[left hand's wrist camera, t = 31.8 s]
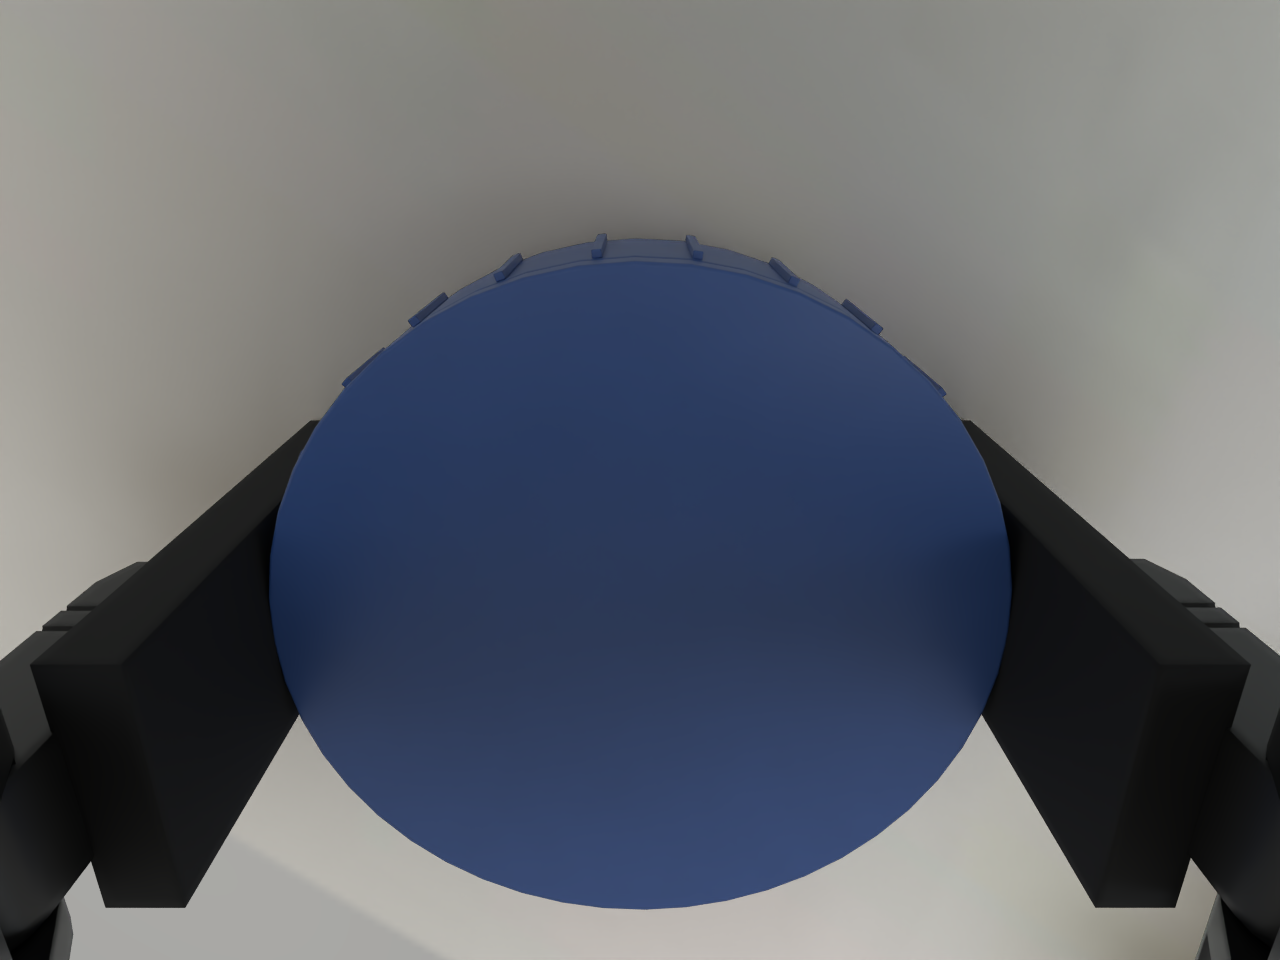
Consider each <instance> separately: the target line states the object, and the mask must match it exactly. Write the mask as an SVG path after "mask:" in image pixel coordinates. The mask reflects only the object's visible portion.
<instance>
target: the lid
mask: <svg viewBox="0 0 1280 960" xmlns="http://www.w3.org/2000/svg"><path fill="white" fill-rule="evenodd" d="M408 322H409V323H410V324H411V326H412V327H410V328H409V329H408V330H407V331H406V332H405V333H403V334H402V335H401V336H400V337H399V338H397V339H396V340H395V341H394V342H393V343H392V344H390V345H389V346H388V347H387V348H386V349H385V348H384V347H383V348H382V349H381V350H380V351H378V352H377V353H376V354H375V355H374V356H372V357H371V358H370V359H369V360H368V361H366V362H365V363H364V364H363V365H362V366H360V367H359V368H358V369H357V370H356V371H354V372H353V373H352V374H351V375H350V376H348V377H347V378H346V379H345V381H344V382H343V383H342V385H343V386H344V387H345V388H344V390H343V391H342V392H341V394H340V395H339V396H338V398H337V399H336V400H335V402H334V403H333V404H332V406H331V407H330V408H329V410H328V411H327V412H326V414H325V415H324V416H323V418H322V419H321V420H320V422H319V423H318V424H317V426H316V427H315V429H314V431H313V432H312V434H311V436H310V438H309V440H308V442H307V444H306V446H305V447H304V449H303V450H302V451H301V453H300V455H299V457H298V460H297V462H296V464H295V466H294V468H293V470H292V473H291V476H290V479H289V482H288V485H287V488H286V490H285V493H284V496H283V499H282V502H281V505H280V508H279V510H278V515H277V520H276V525H275V531H274V536H273V542H272V547H271V553H270V575H269V605H270V613H271V621H272V628H273V634H274V640H275V645H276V650H277V654H278V657H279V661H280V665H281V668H282V672H283V675H284V679H285V682H286V685H287V687H288V689H289V692H290V694H291V696H292V698H293V701H294V703H295V705H296V708H297V710H298V712H299V714H300V717H301V719H302V721H303V722H304V724H305V726H306V727H307V729H308V731H309V732H310V734H311V736H312V737H313V739H314V741H315V742H316V744H317V745H318V747H319V749H320V750H321V752H322V754H323V755H324V756H325V758H326V759H327V760H328V761H329V763H330V764H331V765H332V766H333V768H334V769H335V770H336V771H337V773H338V774H339V775H340V776H341V778H342V779H343V780H344V781H345V783H346V784H347V785H348V786H349V787H350V788H351V789H352V790H353V791H354V792H355V793H356V794H357V795H358V796H359V797H360V798H361V799H362V800H363V801H364V802H365V803H366V804H367V805H368V806H369V807H370V808H371V809H372V810H373V811H374V812H375V813H376V814H377V815H378V816H380V817H381V818H382V819H383V820H385V821H386V822H387V823H389V824H390V825H391V826H393V827H394V828H395V829H396V830H398V831H399V832H400V833H402V834H403V835H404V836H406V837H407V838H408V839H409V840H411V841H412V842H414V843H416V844H417V845H419V846H421V847H422V848H424V849H426V850H427V851H429V852H431V853H432V854H434V855H436V856H437V857H439V858H440V859H442V860H444V861H445V862H447V863H450V864H452V865H454V866H456V867H458V868H460V869H462V870H465V871H467V872H469V873H471V874H473V875H475V876H477V877H479V878H482V879H484V880H487V881H490V882H493V883H495V884H498V885H501V886H504V887H507V888H510V889H513V890H516V891H518V892H521V893H525V894H529V895H534V896H538V897H542V898H546V899H550V900H555V901H559V902H563V903H571V904H578V905H585V906H593V907H600V908H618V909H644V910H645V909H662V908H679V907H690V906H696V905H703V904H709V903H715V902H722V901H727V900H731V899H735V898H739V897H743V896H747V895H750V894H754V893H758V892H762V891H766V890H769V889H772V888H774V887H777V886H780V885H782V884H785V883H788V882H790V881H793V880H796V879H798V878H801V877H804V876H806V875H808V874H810V873H812V872H814V871H816V870H818V869H820V868H822V867H824V866H826V865H828V864H830V863H832V862H834V861H837V860H839V859H841V858H843V857H844V856H846V855H847V854H849V853H850V852H852V851H854V850H855V849H857V848H858V847H860V846H861V845H863V844H864V843H866V842H868V841H869V840H871V839H872V838H874V837H875V836H877V835H878V834H879V833H881V832H882V831H883V830H884V829H886V828H887V827H888V826H889V825H891V824H892V823H893V822H894V821H896V820H897V819H898V818H899V817H901V816H902V815H903V814H904V813H905V812H907V811H908V810H909V809H910V808H911V807H912V806H913V805H914V804H915V803H916V802H917V801H918V800H919V799H920V798H921V797H922V796H923V795H924V794H925V793H926V792H927V791H928V790H929V789H930V788H931V787H932V786H933V785H934V783H935V782H936V781H937V780H938V779H939V778H940V776H941V775H942V774H943V773H944V771H945V770H946V769H947V767H948V766H949V765H950V763H951V762H952V761H953V759H954V758H955V757H956V755H957V754H958V753H959V751H960V750H961V749H962V747H963V746H964V744H965V742H966V740H967V739H968V737H969V735H970V733H971V732H972V730H973V728H974V726H975V725H976V723H977V721H978V719H979V718H980V716H981V714H982V712H983V710H984V708H985V705H986V703H987V700H988V698H989V695H990V693H991V690H992V688H993V685H994V683H995V680H996V678H997V675H998V673H999V668H1000V664H1001V660H1002V656H1003V652H1004V648H1005V644H1006V639H1007V633H1008V627H1009V619H1010V608H1011V598H1012V578H1011V561H1010V546H1009V541H1008V536H1007V532H1006V527H1005V523H1004V518H1003V513H1002V509H1001V504H1000V501H999V498H998V496H997V493H996V491H995V488H994V485H993V483H992V480H991V478H990V475H989V472H988V470H987V467H986V465H985V462H984V460H983V458H982V456H981V454H980V453H979V451H978V449H977V448H976V446H975V444H974V442H973V441H972V439H971V437H970V435H969V434H968V432H967V430H966V428H965V427H964V425H963V423H962V421H961V420H960V418H959V417H958V416H957V415H956V413H955V412H954V411H953V410H952V408H951V407H950V406H949V405H948V403H947V402H946V401H945V400H944V398H943V396H945V395H946V392H945V391H944V390H943V388H942V387H941V386H939V385H938V384H937V383H936V382H935V381H934V380H932V379H931V378H930V377H929V376H928V375H926V374H925V373H924V372H923V371H922V370H920V369H919V368H918V367H917V366H916V365H914V364H913V363H912V362H911V361H910V360H909V359H907V358H906V357H905V356H902V355H901V354H900V353H899V352H898V351H897V350H896V349H895V348H894V347H893V346H891V345H890V344H889V343H888V342H887V341H886V340H884V339H883V338H882V337H881V336H880V335H879V333H880V332H881V331H882V330H883V328H882V327H881V326H880V325H878V324H877V323H876V322H875V321H873V320H872V319H871V318H870V317H868V316H867V315H866V314H865V313H863V312H862V311H861V310H860V309H858V308H857V307H856V306H855V305H853V304H852V303H851V302H850V301H848V300H847V299H845V301H844V302H843V303H842V305H841V304H840V303H838V302H837V301H836V300H834V299H833V298H831V297H830V296H828V295H827V294H825V293H824V292H823V291H821V290H820V289H818V288H817V287H815V286H814V285H812V284H810V283H808V282H806V281H804V280H802V279H800V278H798V277H797V276H796V275H795V274H794V273H793V272H791V271H790V270H789V269H788V268H787V267H786V266H785V265H784V264H783V263H782V262H780V261H779V260H777V259H775V258H771V260H770V262H769V263H766V262H763V261H760V260H757V259H754V258H751V257H748V256H745V255H742V254H739V253H737V252H734V251H731V250H727V249H722V248H716V247H711V246H706V245H701V244H699V243H698V241H697V239H696V237H695V236H691V235H687V236H686V241H673V240H655V239H636V238H635V239H623V240H611V241H607V235H606V234H598V235H597V237H596V240H595V242H588V243H583V244H579V245H574V246H570V247H565V248H561V249H556V250H551V251H547V252H543V253H540V254H537V255H534V256H532V257H529V258H526V259H524V260H523V258H522V256H521V254H520V253H518V254H516V255H513V256H512V257H511V258H510V259H509V260H508V261H507V262H506V263H505V264H503V265H502V266H501V267H500V268H499V269H498V270H496V271H494V272H492V273H490V274H488V275H486V276H484V277H483V278H481V279H479V280H477V281H475V282H473V283H471V284H470V285H468V286H466V287H464V288H462V289H460V290H459V291H457V292H456V293H455V294H453V295H452V296H451V297H449V298H448V297H447V295H446V294H445V293H442V294H441V295H439V296H438V297H437V298H435V299H434V300H433V301H432V302H430V303H429V304H428V305H427V306H425V307H424V308H423V309H422V310H420V311H419V312H418V313H417V314H415V315H414V316H413V317H412V318H410V319H409V320H408Z"/></svg>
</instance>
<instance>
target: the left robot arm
mask: <svg viewBox="0 0 1280 960" xmlns="http://www.w3.org/2000/svg"><path fill="white" fill-rule="evenodd" d="M319 422H320V421H310V422H308V423H307V424H306V425H305V426H304V427H303V428H302V429H300V430H299V431H298V432H297V433H296V434H295V435H294V436H292V437H291V438H290V439H289V440H288V441H287V442H285V443H284V444H283V445H282V446H281V447H280V448H279V449H277V450H276V451H275V452H274V453H273V454H272V455H270V456H269V457H268V458H267V459H266V460H265V461H264V462H262V463H261V464H260V465H259V466H258V467H257V468H255V469H254V470H253V471H252V472H251V473H250V474H249V475H247V476H246V477H245V478H244V479H243V480H242V481H241V482H239V483H238V484H237V485H236V486H235V487H234V488H232V489H231V490H230V491H229V492H228V493H227V494H226V495H224V496H223V497H222V498H221V499H220V500H219V501H217V502H216V503H215V504H214V505H213V506H212V507H211V508H209V509H208V510H207V511H206V512H205V513H204V514H203V515H201V516H200V517H199V518H198V519H197V520H196V521H194V522H193V523H192V524H191V525H190V526H189V527H188V528H186V529H185V530H184V531H183V532H182V533H181V534H179V535H178V536H177V537H176V538H175V539H174V540H173V541H171V542H170V543H169V544H168V545H167V546H166V547H164V548H163V549H162V550H161V551H160V552H159V553H158V554H156V555H155V556H154V557H153V558H152V559H151V560H150V561H148V562H136V563H134V564H132V565H130V566H128V567H126V568H124V569H122V570H120V571H118V572H116V573H114V574H112V575H110V576H108V577H106V578H103V579H101V580H99V581H97V582H96V583H94V584H93V585H92V586H91V587H89V588H88V589H87V590H86V591H85V592H83V593H82V594H81V595H80V596H79V597H77V598H76V599H75V600H74V601H72V602H71V603H70V604H69V605H68V606H67V611H60V612H59V613H58V614H57V615H55V616H54V617H53V618H52V619H51V620H49V621H48V622H47V623H46V624H44V625H43V630H42V631H36V632H35V633H34V634H32V635H31V636H30V637H29V638H27V639H26V640H25V641H24V642H23V643H21V644H20V645H19V646H18V647H17V648H15V649H14V650H13V651H12V652H10V653H9V654H8V655H7V656H6V657H4V658H3V659H2V660H1V661H0V960H69V958H70V952H71V945H72V939H73V930H72V924H71V917H70V914H69V911H68V908H67V905H66V902H65V899H64V896H65V895H66V893H67V892H68V891H69V889H70V888H71V887H72V885H73V884H74V883H75V881H76V880H77V879H78V877H79V876H80V875H81V873H82V872H83V871H84V869H85V868H86V867H87V866H88V864H89V863H90V862H92V866H93V869H94V872H95V875H96V879H97V882H98V885H99V888H100V891H101V895H102V898H103V901H104V904H105V907H106V908H185V907H186V905H187V904H188V902H189V900H190V899H191V897H192V895H193V894H194V892H195V890H196V889H197V887H198V885H199V883H200V882H201V880H202V878H203V877H204V875H205V873H206V872H207V870H208V868H209V866H210V865H211V863H212V861H213V860H214V858H215V856H216V855H217V853H218V851H219V850H220V848H221V846H222V844H223V843H224V841H225V839H226V838H227V836H228V834H229V833H230V831H231V829H232V827H233V826H234V824H235V822H236V821H237V819H238V817H239V816H240V814H241V812H242V810H243V809H244V807H245V805H246V804H247V802H248V800H249V799H250V797H251V795H252V794H253V792H254V790H255V788H256V787H257V785H258V783H259V782H260V780H261V778H262V777H263V775H264V773H265V771H266V770H267V768H268V766H269V765H270V763H271V761H272V760H273V758H274V756H275V754H276V753H277V751H278V749H279V748H280V746H281V744H282V743H283V741H284V739H285V737H286V736H287V734H288V732H289V731H290V729H291V727H292V726H293V724H294V722H295V721H296V719H297V717H298V715H299V712H298V710H297V708H296V705H295V703H294V701H293V698H292V696H291V694H290V692H289V689H288V687H287V685H286V682H285V679H284V675H283V672H282V668H281V665H280V661H279V657H278V654H277V650H276V645H275V640H274V634H273V628H272V621H271V613H270V605H269V575H270V553H271V547H272V542H273V536H274V531H275V525H276V520H277V515H278V510H279V508H280V505H281V502H282V499H283V496H284V493H285V490H286V488H287V485H288V482H289V479H290V476H291V473H292V470H293V468H294V466H295V464H296V462H297V460H298V457H299V455H300V453H301V451H302V450H303V449H304V447H305V446H306V444H307V442H308V440H309V438H310V436H311V434H312V432H313V431H314V429H315V427H316V426H317V424H318V423H319ZM962 423H963V425H964V427H965V428H966V430H967V432H968V434H969V435H970V437H971V439H972V441H973V442H974V444H975V446H976V448H977V449H978V451H979V453H980V454H981V456H982V458H983V460H984V462H985V465H986V467H987V470H988V472H989V475H990V478H991V480H992V483H993V485H994V488H995V491H996V493H997V496H998V498H999V501H1000V504H1001V509H1002V513H1003V518H1004V523H1005V527H1006V532H1007V536H1008V541H1009V546H1010V561H1011V578H1012V598H1011V608H1010V619H1009V627H1008V633H1007V639H1006V644H1005V648H1004V652H1003V656H1002V660H1001V664H1000V668H999V673H998V675H997V678H996V680H995V683H994V685H993V688H992V690H991V693H990V695H989V698H988V700H987V703H986V705H985V708H984V710H983V712H982V716H983V717H984V719H985V721H986V722H987V724H988V726H989V728H990V729H991V731H992V733H993V734H994V736H995V738H996V739H997V741H998V743H999V745H1000V746H1001V748H1002V750H1003V751H1004V753H1005V755H1006V756H1007V758H1008V760H1009V762H1010V763H1011V765H1012V767H1013V768H1014V770H1015V772H1016V773H1017V775H1018V777H1019V779H1020V780H1021V782H1022V784H1023V785H1024V787H1025V789H1026V790H1027V792H1028V794H1029V796H1030V797H1031V799H1032V801H1033V802H1034V804H1035V806H1036V807H1037V809H1038V811H1039V813H1040V814H1041V816H1042V818H1043V819H1044V821H1045V823H1046V824H1047V826H1048V828H1049V830H1050V831H1051V833H1052V835H1053V836H1054V838H1055V840H1056V841H1057V843H1058V845H1059V847H1060V848H1061V850H1062V852H1063V853H1064V855H1065V857H1066V858H1067V860H1068V862H1069V864H1070V865H1071V867H1072V869H1073V870H1074V872H1075V874H1076V875H1077V877H1078V879H1079V881H1080V882H1081V884H1082V886H1083V887H1084V889H1085V891H1086V892H1087V894H1088V896H1089V898H1090V899H1091V901H1092V903H1093V904H1094V906H1095V908H1175V906H1176V903H1177V900H1178V897H1179V894H1180V890H1181V887H1182V884H1183V881H1184V878H1185V874H1186V871H1187V868H1188V865H1189V862H1190V858H1192V860H1193V861H1194V862H1195V864H1196V865H1197V866H1198V868H1199V869H1200V870H1201V872H1202V873H1203V874H1204V876H1205V877H1206V878H1207V879H1208V881H1209V882H1210V883H1211V885H1212V886H1213V887H1214V889H1215V890H1216V891H1217V896H1216V899H1215V902H1214V905H1213V908H1212V911H1211V914H1210V917H1209V920H1208V923H1207V926H1206V929H1205V932H1204V935H1203V938H1202V941H1201V944H1200V947H1199V950H1198V953H1197V956H1196V959H1195V960H1280V656H1279V655H1278V654H1277V653H1276V652H1275V651H1273V650H1272V649H1271V648H1270V647H1268V646H1267V645H1266V644H1265V643H1264V642H1262V641H1261V640H1260V639H1259V638H1257V637H1256V636H1255V635H1254V634H1253V633H1251V632H1250V631H1249V630H1248V629H1246V628H1240V626H1239V622H1238V621H1237V620H1235V619H1234V618H1233V617H1232V616H1230V615H1229V614H1228V613H1227V612H1226V611H1224V610H1223V609H1222V608H1215V602H1213V601H1212V600H1211V599H1210V598H1208V597H1207V596H1206V595H1205V594H1203V593H1202V592H1201V591H1200V590H1199V589H1197V588H1196V587H1195V586H1194V585H1192V584H1191V583H1190V582H1189V581H1188V580H1186V579H1185V578H1183V577H1180V576H1178V575H1176V574H1174V573H1172V572H1170V571H1168V570H1166V569H1164V568H1162V567H1160V566H1158V565H1156V564H1154V563H1152V562H1150V561H1148V560H1145V559H1129V558H1128V557H1127V556H1126V555H1124V554H1123V553H1122V552H1121V551H1120V550H1119V549H1118V548H1116V547H1115V546H1114V545H1113V544H1112V543H1111V542H1110V541H1108V540H1107V539H1106V538H1105V537H1104V536H1103V535H1101V534H1100V533H1099V532H1098V531H1097V530H1096V529H1095V528H1093V527H1092V526H1091V525H1090V524H1089V523H1088V522H1086V521H1085V520H1084V519H1083V518H1082V517H1081V516H1080V515H1078V514H1077V513H1076V512H1075V511H1074V510H1073V509H1072V508H1070V507H1069V506H1068V505H1067V504H1066V503H1065V502H1063V501H1062V500H1061V499H1060V498H1059V497H1058V496H1057V495H1055V494H1054V493H1053V492H1052V491H1051V490H1050V489H1048V488H1047V487H1046V486H1045V485H1044V484H1043V483H1042V482H1040V481H1039V480H1038V479H1037V478H1036V477H1035V476H1034V475H1032V474H1031V473H1030V472H1029V471H1028V470H1027V469H1025V468H1024V467H1023V466H1022V465H1021V464H1020V463H1019V462H1017V461H1016V460H1015V459H1014V458H1013V457H1012V456H1011V455H1009V454H1008V453H1007V452H1006V451H1005V450H1004V449H1002V448H1001V447H1000V446H999V445H998V444H997V443H996V442H994V441H993V440H992V439H991V438H990V437H989V436H987V435H986V434H985V433H984V432H983V431H982V430H981V429H979V428H978V427H977V426H976V425H975V424H974V423H973V422H971V421H962Z"/></svg>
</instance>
